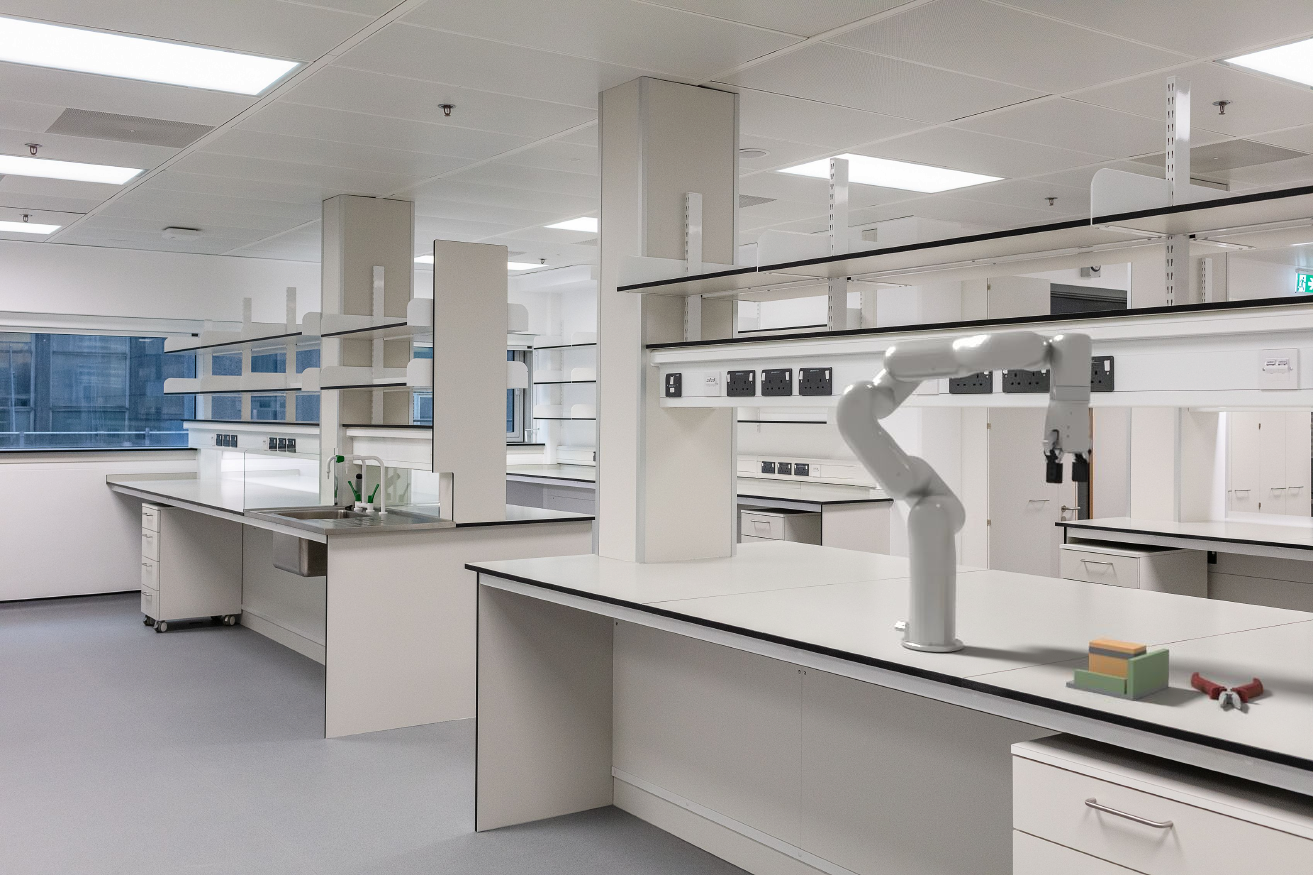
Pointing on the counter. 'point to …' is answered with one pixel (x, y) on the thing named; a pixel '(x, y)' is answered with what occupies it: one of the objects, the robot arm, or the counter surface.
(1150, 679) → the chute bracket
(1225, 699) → the pliers
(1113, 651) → the chute block
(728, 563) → the counter surface
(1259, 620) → the counter surface
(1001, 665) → the counter surface
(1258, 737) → the counter surface
